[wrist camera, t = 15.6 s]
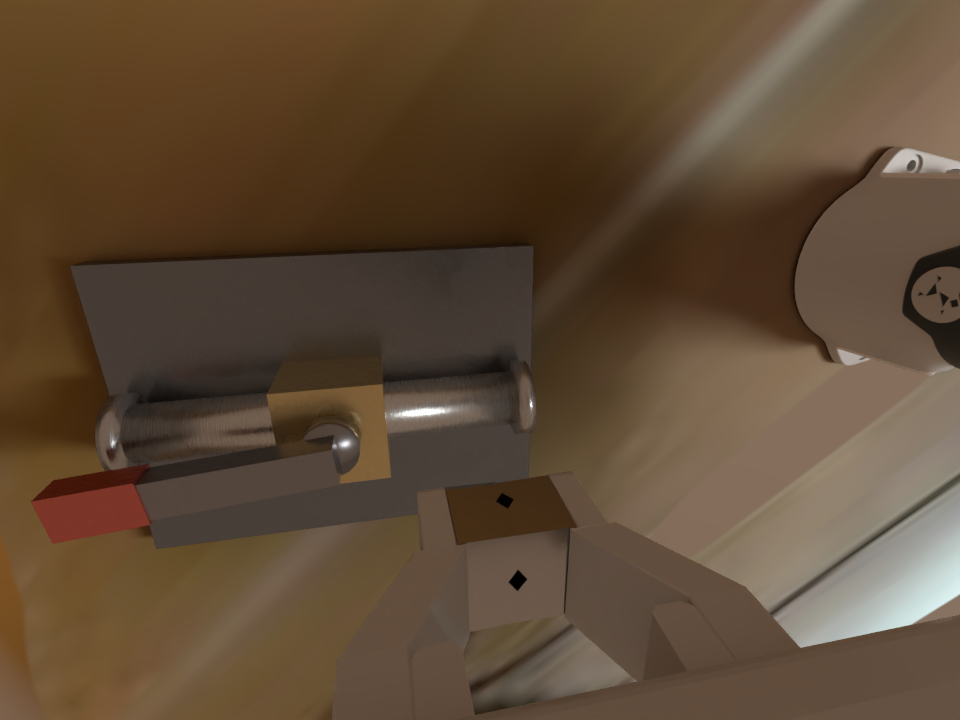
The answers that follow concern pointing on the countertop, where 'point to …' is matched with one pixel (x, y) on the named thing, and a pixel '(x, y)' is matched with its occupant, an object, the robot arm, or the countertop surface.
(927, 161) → the robot arm
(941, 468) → the countertop surface
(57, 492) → the lever
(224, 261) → the valve assembly
